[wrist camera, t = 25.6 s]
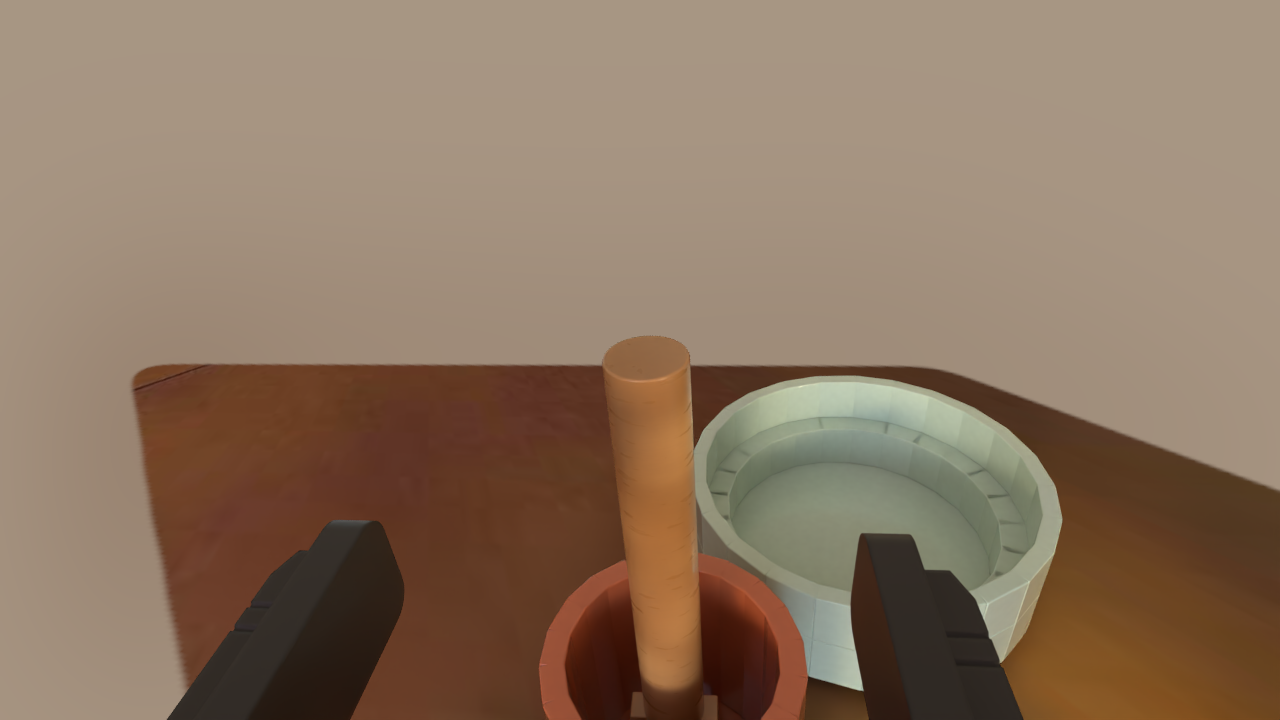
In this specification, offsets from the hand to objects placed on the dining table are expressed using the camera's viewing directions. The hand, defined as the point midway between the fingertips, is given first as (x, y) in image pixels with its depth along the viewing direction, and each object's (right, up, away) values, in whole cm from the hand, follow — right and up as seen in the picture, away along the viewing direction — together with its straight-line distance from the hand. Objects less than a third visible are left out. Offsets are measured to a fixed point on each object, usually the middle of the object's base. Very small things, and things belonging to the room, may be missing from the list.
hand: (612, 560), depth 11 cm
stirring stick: (+2, -14, +16) cm, 21 cm away
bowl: (+12, -7, +26) cm, 30 cm away
